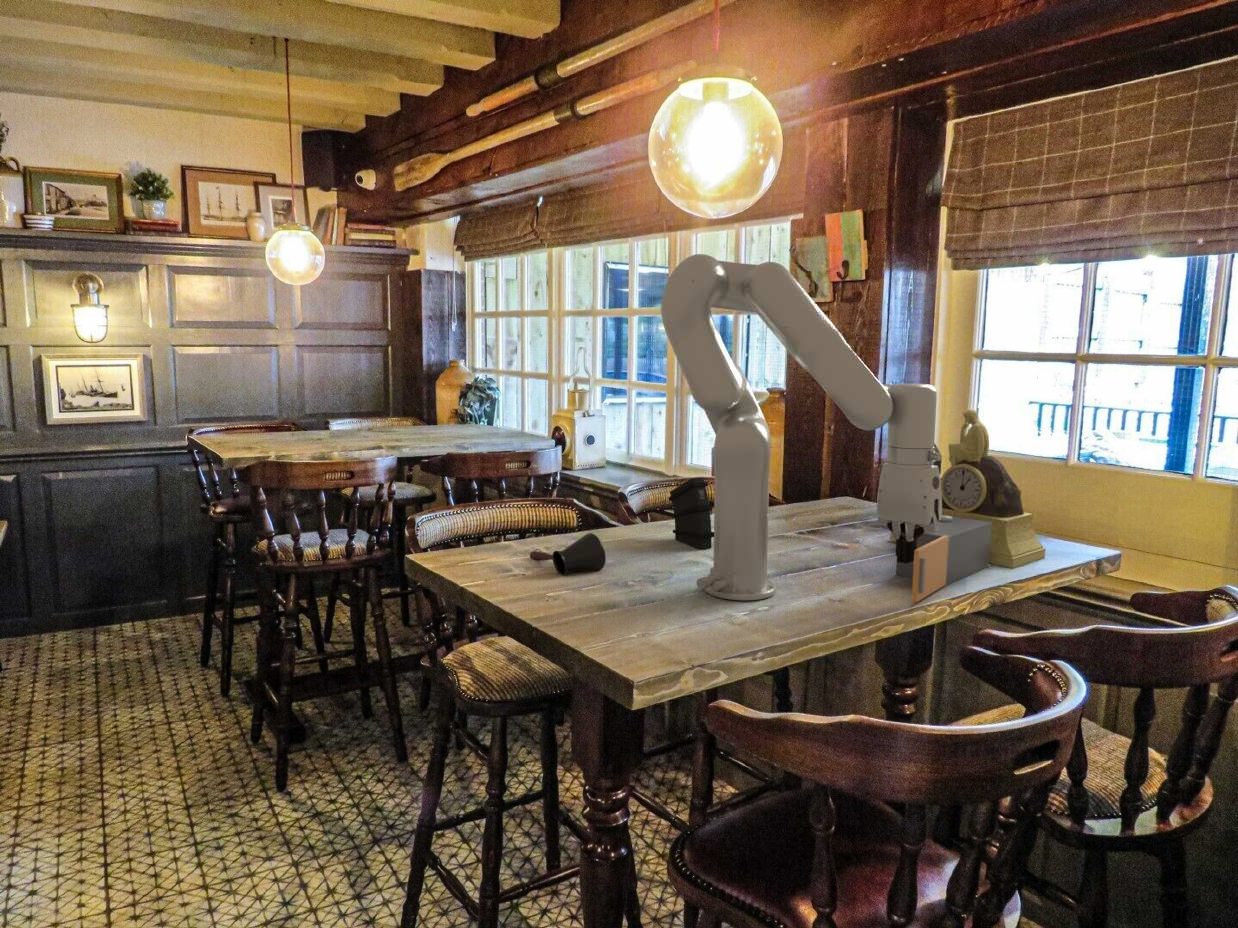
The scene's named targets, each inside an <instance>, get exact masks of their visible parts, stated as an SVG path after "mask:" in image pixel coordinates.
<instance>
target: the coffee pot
mask: <svg viewBox="0 0 1238 928" xmlns="http://www.w3.org/2000/svg"><path fill="white" fill-rule="evenodd" d="M529 557H530V559H532V560H535V561H536V560H537V561H550V560H552V562H553V563H552V564H553V565H554V568H555V571H556V572H557V573H558V574H560V575H561V576H565V575H566V574H567V573H568V572H582V571H583V572H585V571H586V572H587V571H601V570H602V569H603V568H604V567H605V564H606V560H607V556H606V551H605V548H604V545H603V543H602V541H601V540H600V538H599V537H598V536H597V535H596V534H594V533H592V532H589V533H586V534H585V535H583V536H581V537H580V538H579V539H577V540H576V541H574V542H573V543H571V544H570V545H568V546H567V547H565V548H564V549H562V550H554V551H553V552H552V554H550V553H548V552H545V551H543V552H542V550H541V549H539V548H536V549H534V550H533V551H532V552H531V551H530V554H529Z"/></svg>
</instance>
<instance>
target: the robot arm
mask: <svg viewBox="0 0 1238 928" xmlns="http://www.w3.org/2000/svg"><path fill="white" fill-rule="evenodd" d="M660 303H661V304H660V313H661V321H662V325H663V328H664V331H665V334H666V336H667V338H668V341H669V343H670V346H671V348H672V351H673V352H674V355H675V357H676V360H677V363H678V365H679V367H680V369H681V372H682V373H683V376H684V378H685V380H686V382H687V384H688V387H689V391H690V392H691V397H692V398H693V400H694V402H695V403H696V404H697V405H698V406H699V408H701V409H702V410H704V411H703V412H704V414H705V415H706V417H707V419H708V422H709V424H710V426H711V428H712V430H713V432H714V434H715V438H714V442H713V443H714V444H713V468H714V469H713V470H714V471H713V472H714V474H713V475H714V476H713V477H714V484H713V485H714V486H713V487H714V490H713V491H714V492H713V493H714V494H713V496H714V497H713V498H714V499H713V505H714V510H713V511H714V512H713V513H714V515H713V517H714V519H713V522H714V523H713V532H714V537H713V566H712V567H710V571H709V572H710V573H709V574H708V575H707V576H704V577H700V578H698V579H696V586H697V588H698V589H699V590H705V592H707V593H708V594H709V595H711V596H713V597H715V598H716V597H717V598H719V599H724V600H730V601H756V600H762V599H763V600H764V599H767V598H769V597H771V596H773V595H774V594H775V593H776V585H775V583H774V582H772V580H769V579H768V547H769V546H768V543H769V502H770V501H769V499H770V497H769V496H770V495H769V494H770V464H771V448H772V447H771V443H772V442H771V430H770V427H769V425H768V423H767V421H766V418H765V417H764V414H763V412H762V409H761V408H760V406H759V403H758V401H757V399H756V397H755V395H754V392H753V390H752V388H751V385H750V383H749V382H748V379H747V377H746V376H745V373H744V372H743V370H742V368H741V367H740V365H738V364H737V363H736V362H735V361H733V360H732V358H731V356H730V354H729V352H728V350H727V347H726V345H725V343H724V341H723V339H722V336H721V333H720V331H719V329H718V328H717V325H716V323H715V321H714V317H713V315H712V308H714V309H715V308H716V309H724V310H731V311H732V310H733V311H738V312H739V311H740V312H749V313H751V312H752V313H756V314H757V315H758V317H759V318H760V319H761V320H762V322H763V323H764V324H765V325H766V326H767V328H769V330H770V331H771V332H772V333H773V335H774V336H775V337H776V338H777V340H779V342H780V343H781V345H783V347H784V348H785V349H786V351H787V352H788V353H789V354H790V355H791V356H792V357H793V359H794V360H795V361H796V362H797V363H798V365H800V366H801V368H803V369H804V370H805V371H807V373H809V375H811V376H812V377H813V378H814V380H816V381H817V383H818V384H819V385H820V387H822V389H823V390H824V391H825V392H826V394H827V395H828V396H829V397H830V398H831V400H832V401H833V402H834V404H835V405H836V406H837V407H838V408H839V409H840V410H841V412H842V413H843V414H844V415H845V417H846V418H847V419H848V420H849V422H850V424H852V425H853V426H855V427H856V428H858V429H860V430H862V431H863V430H864V431H873V430H877V429H878V430H879V429H880V428H882V427H883V426H885V425H886V424H888V425H887V426H888V427H887V449H886V450H887V453H886V455H887V456H886V462H884V463H883V465H882V468H881V472H880V474H879V475H880V476H879V481H878V487H877V497H876V514H877V520H876V521H877V523H878V524H880V526H881V525H882V526H884V527H886V528H888V530H889V531H890V533H891V532H892V533H893V537H894V538H895V539H896V542H895V556H896V563H897V562H899V563H901V562H903V563H904V564H907V563H910V562H912V561H914V550H916V546H917V539H919V538H920V537H921V536H922V535H923V534H924V533H934V532H937V531H938V524H937V522H938V521H940V520H941V517H942V490H941V480H940V473H939V468H938V466H935V465H933V463H934V462H935V461H940V459H941V455H942V454H941V452H940V453H937V452H935V448H934V443H935V441H936V439H935V437H936V435H935V434H936V418H937V417H936V415H937V399H938V398H937V397H938V396H937V394H938V393H937V390H936V388H935V386H933V385H932V384H926V383H899V384H898V383H897V384H885V383H881V382H880V381H879V380H878V379H877V377H876V376H875V375H874V374H873V372H872V371H871V370H870V369H869V368H868V367H867V365H866V364H865V363H864V362H863V361H862V359H861V358H860V357H859V356H858V355H857V353H856V352H855V351H854V350H853V349H852V348H851V346H850V345H849V344H848V343H847V341H846V340H845V338H844V337H843V335H842V333H841V332H840V331H839V330H838V328H836V326H835V324H833V322H832V321H831V320H830V319H829V317H827V315H826V314H825V312H823V311H822V309H821V308H820V307H819V306H818V304H817V303H816V302H815V301H814V299H812V298H811V296H810V295H809V294H808V292H806V290H805V288H803V286H802V285H801V284H800V283H799V281H797V279H796V278H795V277H794V276H793V274H792V273H791V272H790V271H789V270H788V269H787V268H786V267H785V266H784V265H782V264H780V263H779V262H775V261H766V262H762V263H760V264H751V263H740V262H731V261H725V260H719V259H718V260H717V259H716V258H715V257H713V256H711V255H708V254H704V253H703V254H702V253H701V254H700V253H697V254H692V255H690V256H688V257H686V258H685V259H683V260H682V261H681V262H680V263H679V264H677V266H676V267H675V268H674V269H673V271H672V272H671V274H670V276H669V277H668V279H667V281H666V283H665V285H664V288H663V291H662V296H661V302H660ZM906 523H907V524H908V529H907V524H906ZM925 525H926V526H925Z"/></svg>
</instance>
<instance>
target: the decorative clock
mask: <svg viewBox="0 0 1238 928" xmlns="http://www.w3.org/2000/svg"><path fill="white" fill-rule="evenodd" d="M962 415H963V419H964V421H965V422H964V424H962V426H961V430H960V436H959V442H950V443H949V444H948V455H949V459H948V460H949V462H950V465H951V466H950V467H949V468H947V469H946V470H945V471H944V473H943V474H942V475H941V478H940V480H941V490H942V515H948V516H954V517H961V518H967V519H973V520H980V521H986V522H992V527H991V542H990V558H989V564H992V565H997V566H1000V567H1006V568H1010V569H1014V568H1019V567H1020V566H1024V565H1027V564H1030V563H1033V562H1035V561H1040V560H1041V559H1045V558H1046V548H1044V546H1043V544H1042V542H1041V541H1040V540H1039V538H1038V536H1037V535H1036V532H1035V530H1034V524H1033V523H1034V522H1033V519H1034V518H1033V516H1034V514H1033V513H1029V512H1024V507H1023V502H1022V491H1021V489H1020V488H1019V486H1018V485H1017V484H1016V483H1015V482H1014V481H1013V479H1012V477H1011V476H1010V474H1009V473H1008V471H1007V469H1006V468H1005V466H1004V464H1002V463H1001V461H1000V460H999V459H997V458H996V457H995V456H992V455H988V454H989V449H990V437H989V432H988V429H987V428H986V426H985V425H984V423H983V422H982V421H981V419H980V418H979V414H978V412H977V411H976V410H975V409H973V408H969V409H966V410H965V411H964V412H963V414H962ZM969 425H972V426H971V427H969ZM968 427H969V429H968V432H967V433H965V432H966V429H967V428H968ZM906 524H907V523H906ZM907 526H908V524H907ZM890 540H892V541H895V542H894V543H896V539H895V538H894V537H893V533H892V532H891V531H890V533H889V541H890Z"/></svg>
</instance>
